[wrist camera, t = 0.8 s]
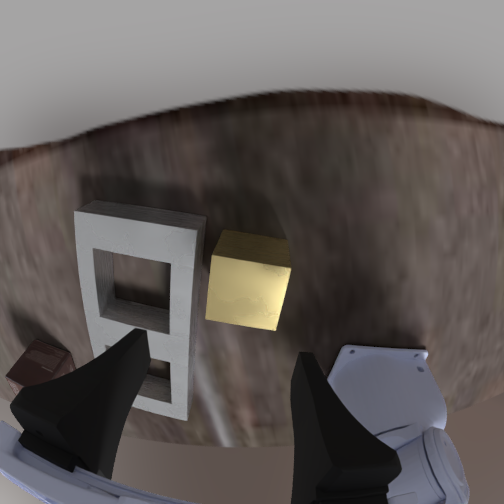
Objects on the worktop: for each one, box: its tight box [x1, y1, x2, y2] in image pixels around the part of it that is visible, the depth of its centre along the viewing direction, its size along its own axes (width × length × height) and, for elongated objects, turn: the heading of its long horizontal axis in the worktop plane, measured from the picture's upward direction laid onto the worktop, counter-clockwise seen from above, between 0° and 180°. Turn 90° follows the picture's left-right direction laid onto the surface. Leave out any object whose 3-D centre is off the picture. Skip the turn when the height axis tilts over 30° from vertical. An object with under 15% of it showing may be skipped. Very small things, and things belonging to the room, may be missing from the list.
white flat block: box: [74, 200, 207, 421], centre depth 23 cm, size 9×20×3 cm, turn 171°
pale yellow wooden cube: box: [205, 229, 291, 331], centre depth 20 cm, size 4×4×4 cm
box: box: [5, 340, 76, 396], centre depth 25 cm, size 6×6×7 cm
